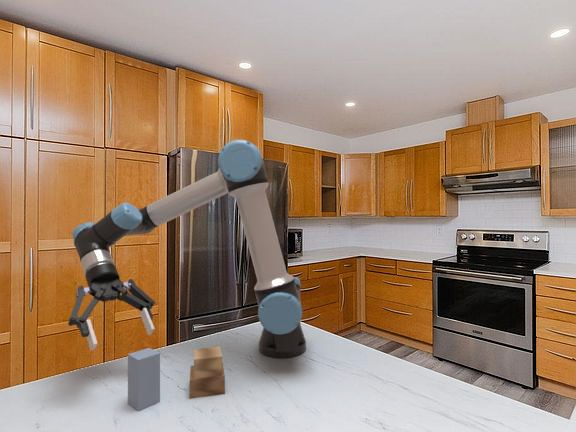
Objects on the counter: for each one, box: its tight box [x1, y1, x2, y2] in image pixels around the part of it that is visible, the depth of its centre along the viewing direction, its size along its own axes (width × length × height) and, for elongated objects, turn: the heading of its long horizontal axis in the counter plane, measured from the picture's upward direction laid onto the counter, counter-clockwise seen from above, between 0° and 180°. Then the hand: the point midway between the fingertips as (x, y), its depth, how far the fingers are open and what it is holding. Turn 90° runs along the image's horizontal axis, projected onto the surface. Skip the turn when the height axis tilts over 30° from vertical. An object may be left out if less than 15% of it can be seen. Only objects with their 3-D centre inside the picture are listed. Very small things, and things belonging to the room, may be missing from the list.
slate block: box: [127, 347, 161, 412], centre depth 76 cm, size 5×5×11 cm
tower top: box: [193, 346, 223, 379], centre depth 82 cm, size 6×6×4 cm
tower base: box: [189, 361, 226, 400], centre depth 83 cm, size 8×8×4 cm
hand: (124, 339), depth 82 cm, fingers open, 13 cm apart
